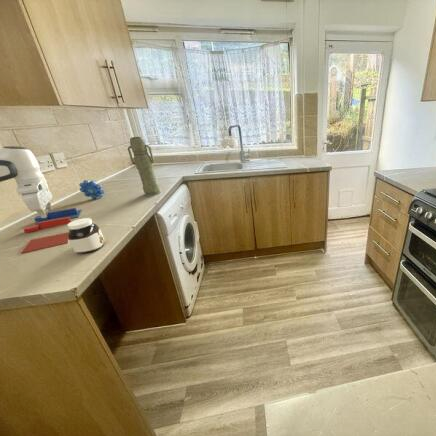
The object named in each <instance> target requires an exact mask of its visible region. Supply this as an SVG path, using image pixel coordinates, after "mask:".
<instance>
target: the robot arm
mask: <svg viewBox="0 0 436 436" xmlns="http://www.w3.org/2000/svg"><path fill="white" fill-rule="evenodd" d="M11 179H14V181H15V182H16V187H17V188H16V192H17V194H18V195H20V196H21V198H22V200H23V202H24V203H25V206H26V207H27V208H28V210H29V211H30V212H36V213H37V214H38V216H41V218H46V217H47V215H48V214H47V212H53V207H52V202H51V201H52V200H53V194H52V192H51V190H50V189H49V184H48V182H47V179H46V177H45V175H44V173H42V172H41V167H40V163H39V162H38V160H37V158H36V156H35V155H34V153H33V152H32V151H31V150H30V149H29V148H27V147H24V146H15V145H14V146H13V145H11V146H10V145H9V146H2V147H1V148H0V183H2V182H5V181H8V180H11ZM45 210H46V211H45Z"/></svg>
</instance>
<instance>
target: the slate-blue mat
mask: <svg viewBox="0 0 436 436" xmlns="http://www.w3.org/2000/svg"><path fill="white" fill-rule="evenodd" d="M82 211H83V209H77V212H78V214H74V215H68V216H62V217H56V218H51V219H50V218H49V219H48V220H54V219H60V218H65V217H70V220H73V219H78V218H79V217H80V215H81V213H82ZM48 220H43V221H48ZM43 221H37V222H35V224H34V225H38V222H43Z"/></svg>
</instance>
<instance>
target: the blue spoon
mask: <svg viewBox="0 0 436 436" xmlns="http://www.w3.org/2000/svg"><path fill="white" fill-rule="evenodd" d="M77 210H78V209H77V207H72V208H65V209H59V210H54V211H53V210H52V211H47V212H46V214H47V217H46V218H41V216H40V215H36V216H35V218H34V222H35V223H37V222H38V221H43V220H48V219H49V218H50V219H51V218H56V217H62V216H68V215H74V214H78V212H77Z"/></svg>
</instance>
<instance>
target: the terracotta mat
mask: <svg viewBox="0 0 436 436" xmlns="http://www.w3.org/2000/svg"><path fill="white" fill-rule="evenodd" d="M68 233H69V231H67V232H62V233H58V234H52V235H47V236H42V237H37V238H32V239H30V240H29V241H28V243H27V244H26V245H25V247H24V248H22V251H21V252H20V253H21V254H22V255H23V254H28V253H32V252H36V251H40V250H44V249H49V248H53V247H57V246H61V245H62V246H63V245H67V244H68Z"/></svg>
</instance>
